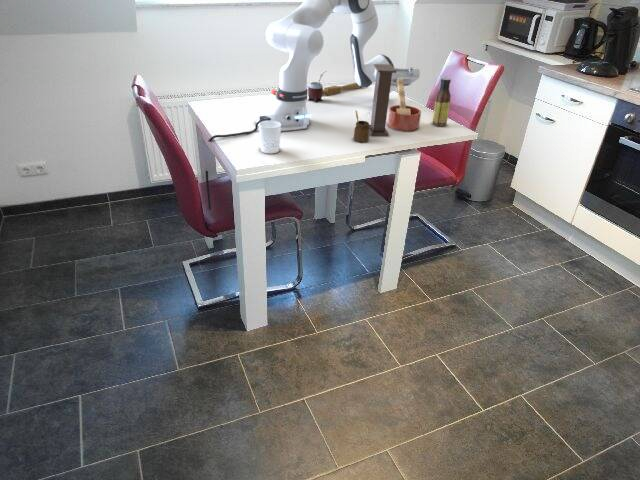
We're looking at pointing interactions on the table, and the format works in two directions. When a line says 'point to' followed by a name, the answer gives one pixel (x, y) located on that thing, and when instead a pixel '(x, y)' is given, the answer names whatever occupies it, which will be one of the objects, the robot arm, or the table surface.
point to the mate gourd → (315, 90)
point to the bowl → (404, 119)
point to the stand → (381, 99)
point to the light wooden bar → (402, 99)
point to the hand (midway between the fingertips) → (401, 68)
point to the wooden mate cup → (361, 130)
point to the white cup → (269, 136)
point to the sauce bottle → (442, 103)
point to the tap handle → (339, 89)
